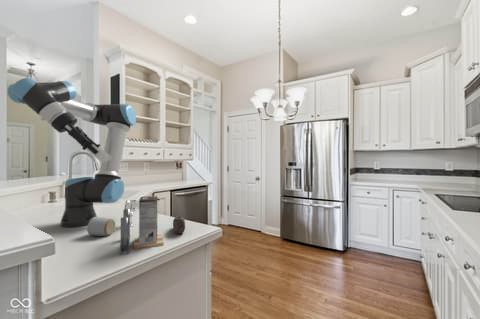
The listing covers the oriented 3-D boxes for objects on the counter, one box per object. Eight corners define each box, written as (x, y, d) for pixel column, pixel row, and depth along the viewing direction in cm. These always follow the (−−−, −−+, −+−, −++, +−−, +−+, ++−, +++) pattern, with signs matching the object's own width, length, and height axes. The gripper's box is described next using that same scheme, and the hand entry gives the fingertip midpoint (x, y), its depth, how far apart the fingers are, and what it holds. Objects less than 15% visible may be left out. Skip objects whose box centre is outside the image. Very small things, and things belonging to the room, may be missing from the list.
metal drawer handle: (123, 239, 93) (123, 209, 93) (129, 238, 94) (130, 208, 94) (120, 254, 77) (120, 218, 77) (128, 253, 78) (128, 218, 78)
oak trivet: (134, 240, 91) (134, 237, 91) (161, 236, 95) (161, 234, 95) (134, 248, 82) (134, 246, 82) (163, 244, 86) (163, 242, 86)
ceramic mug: (105, 238, 93) (105, 219, 94) (86, 237, 94) (86, 218, 94) (121, 231, 104) (121, 214, 104) (103, 230, 105) (104, 213, 105)
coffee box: (140, 237, 92) (140, 196, 92) (157, 235, 94) (157, 195, 94) (138, 244, 83) (138, 200, 83) (157, 242, 85) (157, 199, 86)
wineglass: (123, 225, 113) (123, 200, 113) (136, 223, 116) (136, 199, 116) (125, 227, 108) (125, 202, 108) (138, 225, 112) (138, 201, 112)
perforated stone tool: (173, 226, 111) (173, 212, 111) (184, 226, 112) (184, 211, 112) (172, 236, 96) (172, 219, 96) (185, 235, 97) (185, 219, 98)
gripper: (61, 129, 93) (103, 166, 99) (36, 119, 70) (93, 167, 76) (77, 117, 95) (117, 154, 101) (57, 103, 72) (111, 152, 78)
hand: (107, 160), depth 89 cm, fingers open, 13 cm apart
